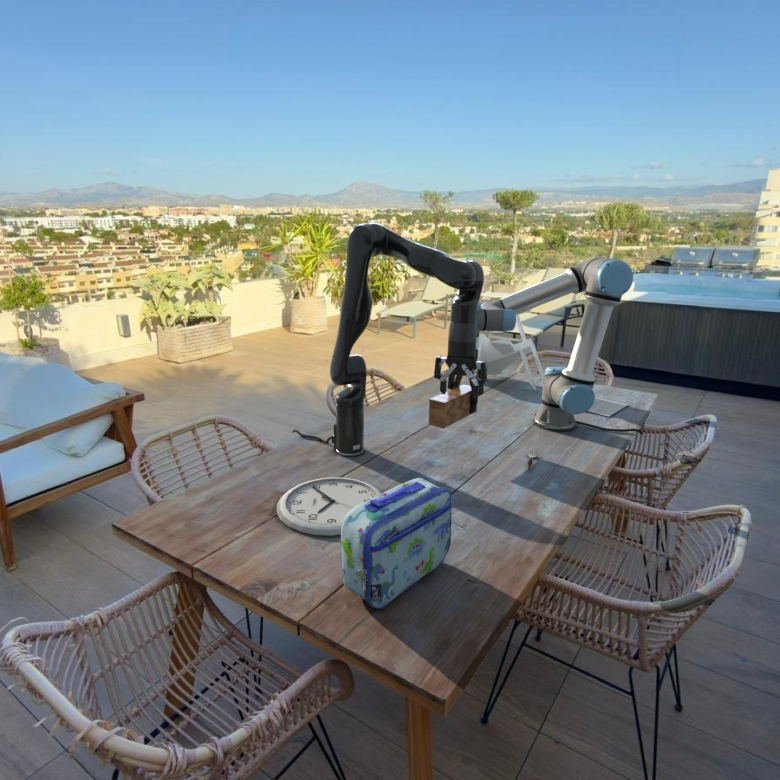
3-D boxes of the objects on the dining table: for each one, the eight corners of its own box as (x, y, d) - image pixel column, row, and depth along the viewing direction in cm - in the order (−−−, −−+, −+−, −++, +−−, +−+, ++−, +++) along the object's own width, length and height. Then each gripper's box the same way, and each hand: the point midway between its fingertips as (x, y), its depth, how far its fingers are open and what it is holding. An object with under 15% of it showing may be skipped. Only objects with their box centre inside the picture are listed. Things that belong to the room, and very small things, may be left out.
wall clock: (392, 527, 129) (268, 531, 127) (391, 533, 130) (269, 537, 127) (383, 473, 158) (282, 475, 155) (383, 478, 158) (282, 480, 156)
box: (462, 407, 193) (463, 384, 190) (476, 411, 189) (478, 387, 187) (428, 424, 177) (429, 399, 174) (443, 428, 173) (444, 402, 170)
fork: (524, 470, 165) (524, 465, 164) (529, 451, 179) (529, 446, 179) (532, 472, 164) (533, 466, 163) (537, 452, 178) (537, 447, 178)
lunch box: (370, 622, 101) (370, 527, 94) (335, 595, 108) (333, 505, 102) (455, 565, 118) (460, 481, 112) (420, 544, 125) (423, 465, 119)
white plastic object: (482, 419, 265) (461, 396, 241) (463, 346, 287) (443, 319, 263) (553, 395, 253) (539, 368, 228) (528, 321, 275) (513, 290, 250)
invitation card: (608, 416, 214) (573, 407, 224) (608, 416, 214) (573, 408, 224) (628, 404, 229) (594, 396, 238) (628, 405, 229) (594, 397, 238)
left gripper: (432, 338, 138) (430, 396, 143) (486, 343, 133) (481, 403, 138) (440, 333, 145) (438, 388, 150) (491, 337, 140) (487, 395, 145)
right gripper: (438, 345, 184) (436, 407, 191) (486, 353, 173) (482, 419, 180) (450, 342, 190) (447, 402, 196) (497, 350, 178) (492, 413, 185)
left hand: (459, 395), depth 144 cm, fingers open, 8 cm apart
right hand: (464, 410), depth 188 cm, fingers closed on box, 6 cm apart
